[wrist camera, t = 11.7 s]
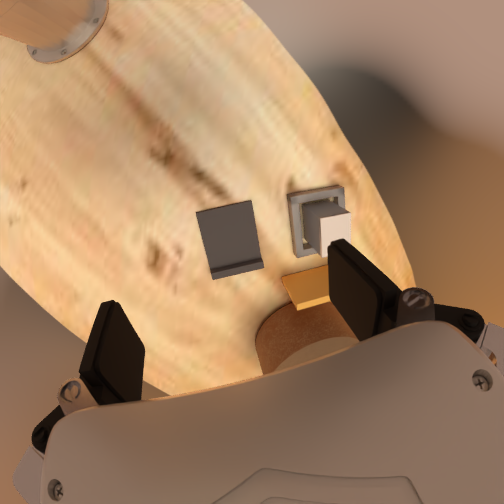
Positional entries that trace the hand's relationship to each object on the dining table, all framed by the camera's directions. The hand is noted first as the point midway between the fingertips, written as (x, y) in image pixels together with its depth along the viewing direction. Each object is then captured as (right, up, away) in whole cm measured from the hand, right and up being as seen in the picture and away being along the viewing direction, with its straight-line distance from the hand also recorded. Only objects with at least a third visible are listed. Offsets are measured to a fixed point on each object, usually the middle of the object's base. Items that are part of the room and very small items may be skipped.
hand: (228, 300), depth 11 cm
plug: (+10, +6, +25) cm, 28 cm away
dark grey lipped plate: (-2, +4, +24) cm, 25 cm away
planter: (+9, -12, +34) cm, 37 cm away
